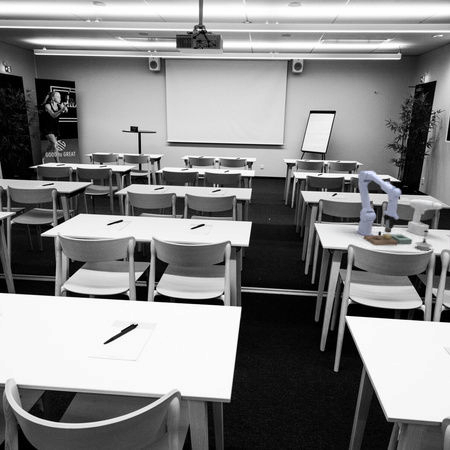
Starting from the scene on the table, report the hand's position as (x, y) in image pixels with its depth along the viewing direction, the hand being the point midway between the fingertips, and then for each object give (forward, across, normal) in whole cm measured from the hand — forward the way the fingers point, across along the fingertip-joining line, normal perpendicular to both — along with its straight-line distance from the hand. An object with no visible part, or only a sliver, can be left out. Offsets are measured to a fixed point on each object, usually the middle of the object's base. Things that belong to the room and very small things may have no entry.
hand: (388, 227), depth 264 cm
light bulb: (+10, -15, -17) cm, 24 cm away
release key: (+10, 0, 0) cm, 10 cm away
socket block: (+10, 0, +5) cm, 11 cm away
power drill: (+10, +16, -36) cm, 41 cm away
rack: (+10, 0, -10) cm, 14 cm away
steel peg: (+3, 0, 0) cm, 3 cm away
